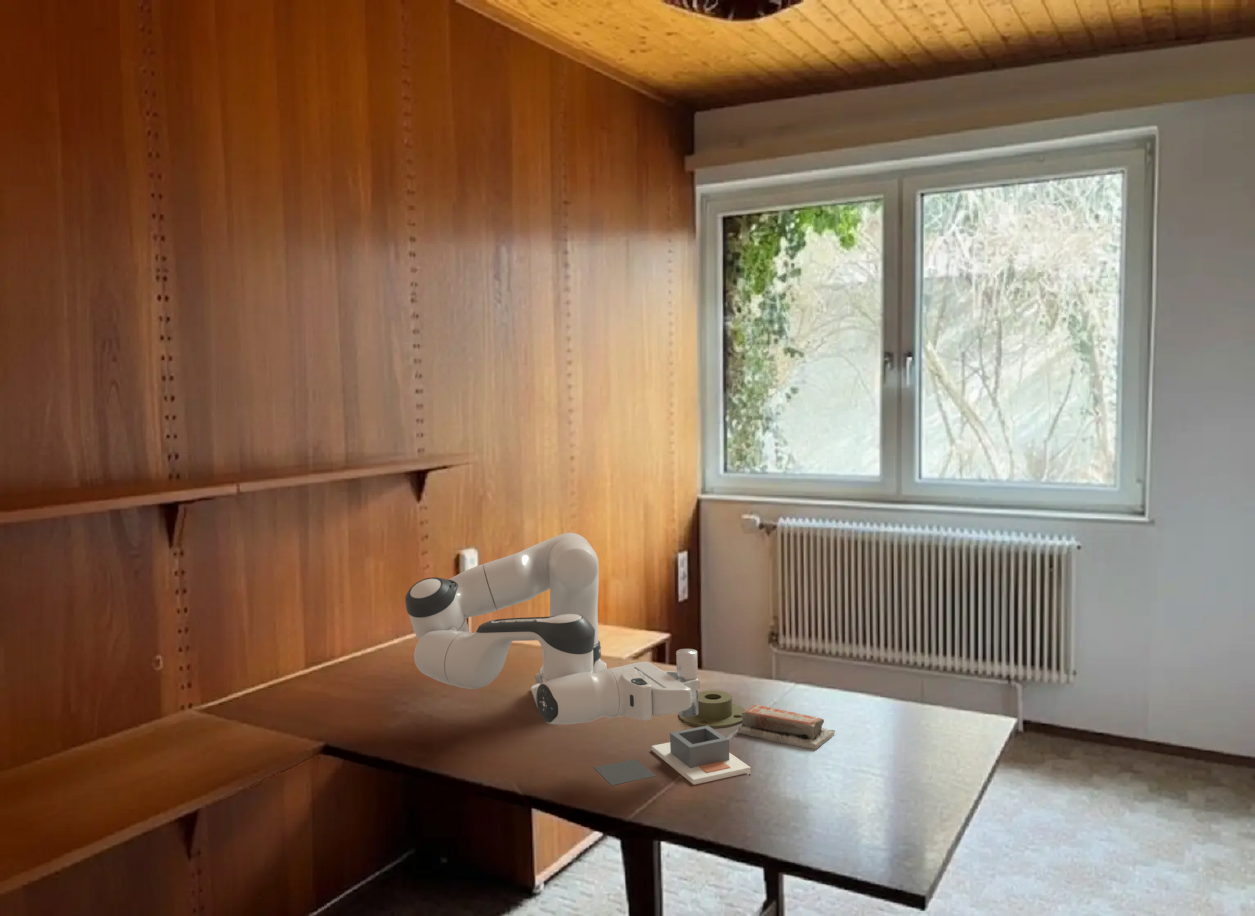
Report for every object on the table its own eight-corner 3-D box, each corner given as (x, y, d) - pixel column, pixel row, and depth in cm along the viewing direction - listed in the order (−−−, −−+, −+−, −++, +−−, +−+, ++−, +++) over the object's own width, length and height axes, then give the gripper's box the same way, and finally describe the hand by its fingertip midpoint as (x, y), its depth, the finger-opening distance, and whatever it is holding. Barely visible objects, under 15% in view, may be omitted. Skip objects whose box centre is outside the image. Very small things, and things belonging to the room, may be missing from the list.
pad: (593, 770, 180) (593, 767, 180) (636, 761, 184) (636, 758, 184) (611, 788, 172) (611, 785, 172) (656, 779, 176) (656, 775, 176)
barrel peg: (674, 711, 181) (672, 650, 180) (692, 708, 183) (691, 647, 182) (683, 718, 178) (681, 655, 177) (702, 714, 179) (700, 652, 178)
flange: (693, 682, 218) (668, 703, 204) (755, 690, 211) (734, 712, 198) (693, 702, 218) (668, 724, 204) (755, 710, 212) (734, 733, 198)
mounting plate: (651, 753, 188) (651, 726, 187) (705, 742, 193) (704, 716, 192) (693, 787, 171) (693, 758, 171) (750, 775, 176) (750, 746, 176)
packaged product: (735, 712, 197) (757, 698, 205) (736, 735, 197) (757, 720, 206) (815, 728, 187) (835, 713, 195) (816, 752, 187) (835, 736, 195)
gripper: (604, 690, 184) (668, 680, 190) (647, 724, 166) (717, 712, 171) (604, 659, 184) (668, 649, 189) (646, 689, 165) (716, 678, 170)
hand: (691, 679), depth 180 cm, fingers closed on barrel peg, 4 cm apart
